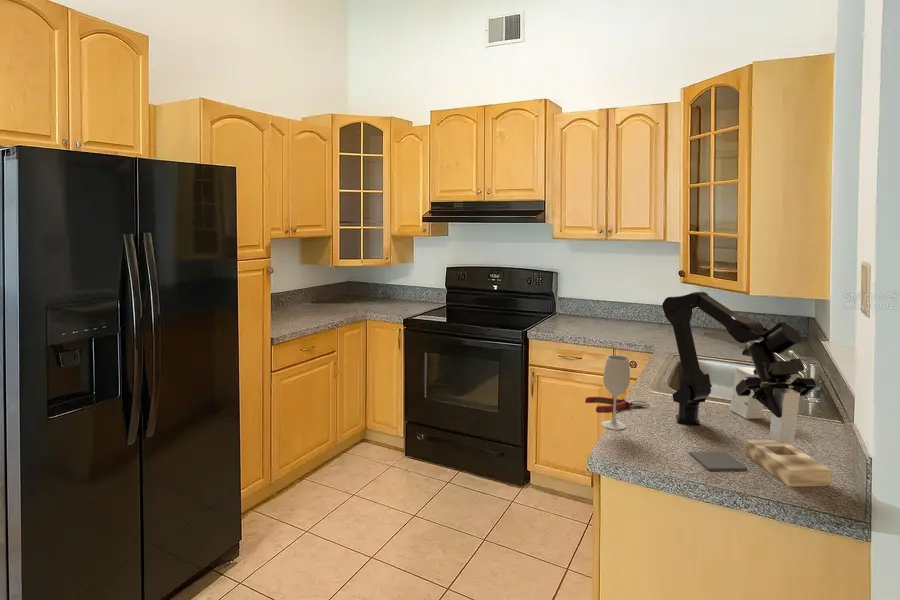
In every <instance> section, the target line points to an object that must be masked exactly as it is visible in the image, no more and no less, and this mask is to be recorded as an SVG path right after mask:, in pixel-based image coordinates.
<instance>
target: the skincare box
mask: <svg viewBox="0 0 900 600" xmlns="http://www.w3.org/2000/svg"><path fill="white" fill-rule="evenodd" d="M754 370H755V367H750V366H749V367H747V366H742V367H741V366H736V367H735V373H734V379H733V387H732V395H731V401H730V409H729V410H730V411H731V412H733V413H735V414H737V415H739V416H741V417H742V418H744V419H748V420H749V419H762V416H763V409H764V405H763V404H762V403H760V402H759V401H758V400H757V399H753V398H752V396H753V395H754V391H753V390H750V391H751V393H750V395H749V396H738V395H737V392H736V386H737V384H738V383H739V382H740V381H741V380H742V379H743V378H744V377H758V378H759V376H758V375H754V372H753V371H754Z"/></svg>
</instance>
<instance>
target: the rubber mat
mask: <svg viewBox="0 0 900 600" xmlns="http://www.w3.org/2000/svg"><path fill="white" fill-rule="evenodd" d="M688 454H689V455H690V456H691V457H692V458H693V459H694V460H695V461H696V462H698V463H699V464H700V465H701V466H702V467H704V468H705V469H706V470H707V471H747V470H748V467H746V466H745V465H744V464H743V463H741V462H740V461H739V460H737V459H736V458H735V457H734V456H732V455H731V454H730V453H728V452H727V451H689V452H688Z"/></svg>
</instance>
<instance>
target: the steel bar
mask: <svg viewBox="0 0 900 600" xmlns="http://www.w3.org/2000/svg"><path fill="white" fill-rule="evenodd" d="M774 397H775V400H776V402H777V405H778V407H779V410H780V413H781V417H780V418H778V417H776V416H775V415H774V414H773V413H772V412H771V417H770V427H769V434H768V435H769V437H768V438H770V439H772V440H775V441H776V442H778V443H788V444H795V439H796V430H797V423H798V417H799V407H800V399H801V398H800V397H801V396H800V393H799V392H797V391H794V390H792V389H790V388H775V389H774ZM797 416H798V417H797Z"/></svg>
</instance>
